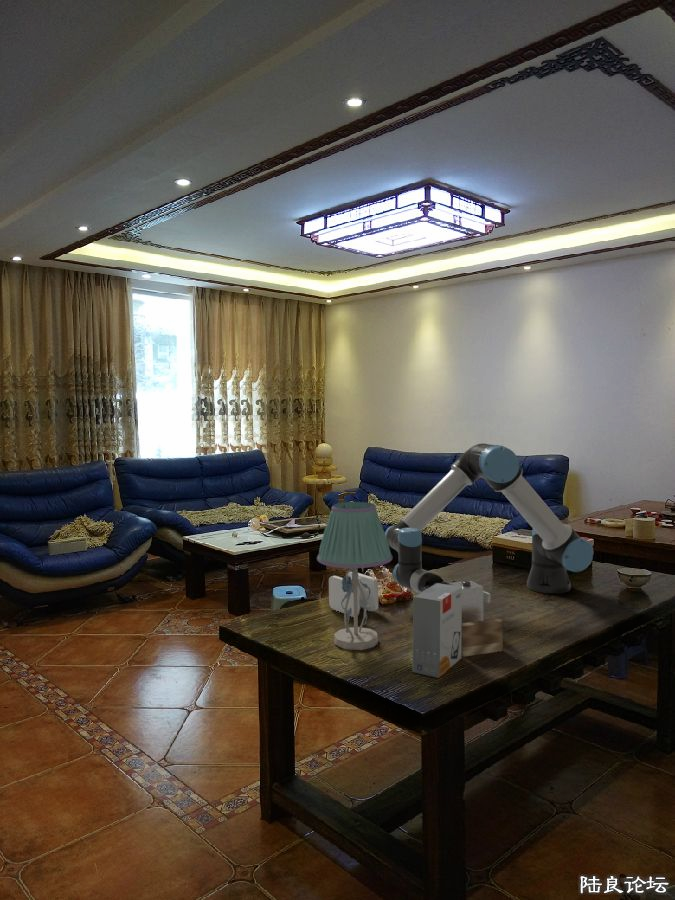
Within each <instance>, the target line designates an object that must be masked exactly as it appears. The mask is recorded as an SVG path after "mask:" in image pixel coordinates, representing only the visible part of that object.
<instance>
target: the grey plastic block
mask: <svg viewBox="0 0 675 900" xmlns="http://www.w3.org/2000/svg"><path fill="white" fill-rule="evenodd" d="M348 576H350V577H351V580H352V571H349V573H348ZM342 579H343V577H341V576H338V575H332V576H330V577H329V578H328V602H329V603H328V605H329V606H330V608H331V609H332V610H334V611H335V610H336V611H335V612H337V611H339V612H338V613H340V612H341V613H342V614H344V609H343V608H345V605H346V601H347V598H348V597H347V598H346V599H345V600H344V601H343V603H342V605H343V608H342V605H341V602H342V600H343V599H344V597H345V595H346V594H347V592H343V590H342V585H343V584H342ZM358 579H359V583H360V581H361V582H362V583H363V584H367V586H368V587H369V588H370V591H371V592H370V596H369V589H368V588H365V587H364V586H363V585H362V584H361V583H360V585H361V587H362V590H363V592H364V594H365V598H366V599H367V597H368V596H369V599H368V600H367V601H366V604H367V609H366V612H367V610H368V612H370V611H371V612H370V613H372V612H373V611H377V610H378V609H379V583H378V580H377V578H375V577H374V576H373V577H372V576H370V575H366V574H364V573H360V572H358ZM361 601H363V602H364V598H363V596H362V593H361V591H360V589H359V587H358V585H357V603H358V616H359V615H360V610H361V608H362V609H364V608H363V606H362V605H361ZM350 608H351V609H352V613H351V615H349V617H350V616H351V617H350V618H352V617H353V618H354V593H352V592H351V596H350V599H349V602H348V606H347V611H348V610H349V609H350ZM346 614H347V613H346Z"/></svg>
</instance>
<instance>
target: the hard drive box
mask: <svg viewBox="0 0 675 900" xmlns="http://www.w3.org/2000/svg"><path fill="white" fill-rule="evenodd" d="M461 618H462V587H460V586H453V585H446V584H440V583H437V584H435V585H433V586H431V587H430V588H428V589H426V590H425V591H423V592H421V593H417V594H416V595H414V596H413V597H412V657H411V658H412V660H411V661H412V664H411V667H412V668H411V669H412V672H413V673H416V674H420V675H424V676H427V677H428V676H429V677H432V678H437V679H439V678H441V677H442V676H443V675H445V674H446V673H447V672H448V671H449V670H450V669H451V668H452V667H453V666H454V665H456V664H457V663H458V662H459V661H460V660H461V659H462V655H461Z"/></svg>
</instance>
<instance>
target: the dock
mask: <svg viewBox="0 0 675 900" xmlns="http://www.w3.org/2000/svg"><path fill="white" fill-rule="evenodd" d="M503 622H504V621H503V620H502V619H500V618H494V619H486V620H485V619H484V620H483V621H477V622H469V623H461V657H463V658H464V657H469V656H470V657H471V656H476V655H477V656H478V655H483V654H492V653H497V652H498V651H499V652H503V649H504V648H503V646H504V644H503V639H504V638H503V629H504V628H503V625H504V624H503Z"/></svg>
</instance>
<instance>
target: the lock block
mask: <svg viewBox="0 0 675 900" xmlns="http://www.w3.org/2000/svg"><path fill="white" fill-rule="evenodd" d="M448 583H449V585H453V586H460V587H462V618H461V623H469V622H477V621H484V601H483V591H484V585H481V584H478V583H477V582H475V581H473V580H463V581H456V582H453V583H452V582H448Z"/></svg>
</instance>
